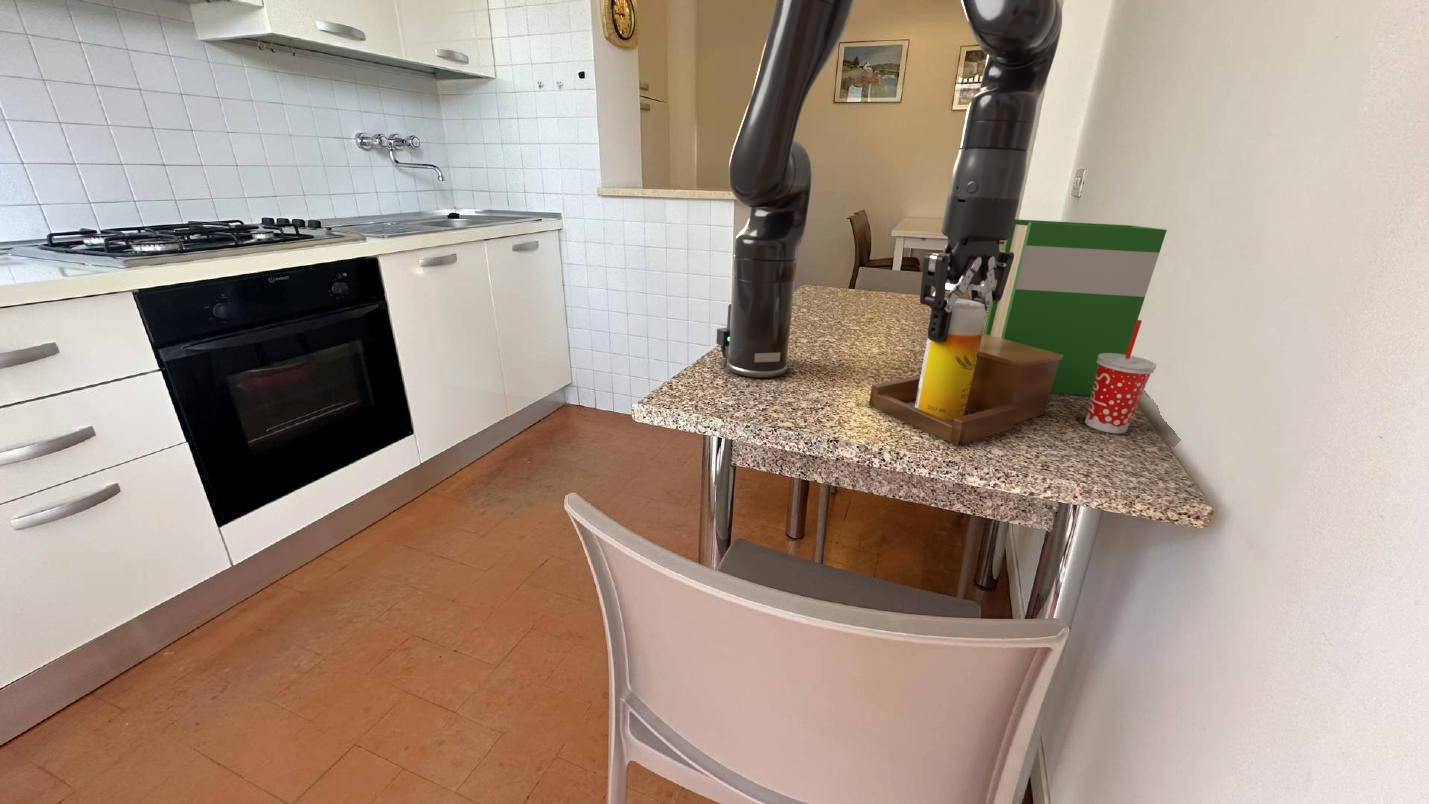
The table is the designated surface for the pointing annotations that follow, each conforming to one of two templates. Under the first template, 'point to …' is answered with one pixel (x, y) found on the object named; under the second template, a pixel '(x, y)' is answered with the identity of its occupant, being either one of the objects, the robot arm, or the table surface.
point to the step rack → (981, 392)
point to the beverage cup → (1118, 388)
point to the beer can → (952, 363)
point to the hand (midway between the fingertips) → (954, 337)
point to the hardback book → (1075, 292)
